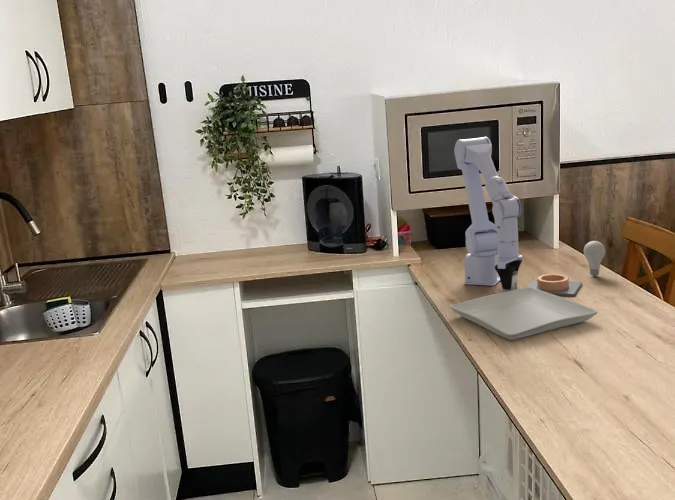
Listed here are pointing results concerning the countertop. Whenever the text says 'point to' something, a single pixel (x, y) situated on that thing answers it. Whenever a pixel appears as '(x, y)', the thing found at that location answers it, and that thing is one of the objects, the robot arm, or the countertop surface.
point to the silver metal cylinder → (514, 282)
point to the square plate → (522, 312)
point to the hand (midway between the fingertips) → (509, 286)
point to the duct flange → (556, 285)
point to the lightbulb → (594, 256)
